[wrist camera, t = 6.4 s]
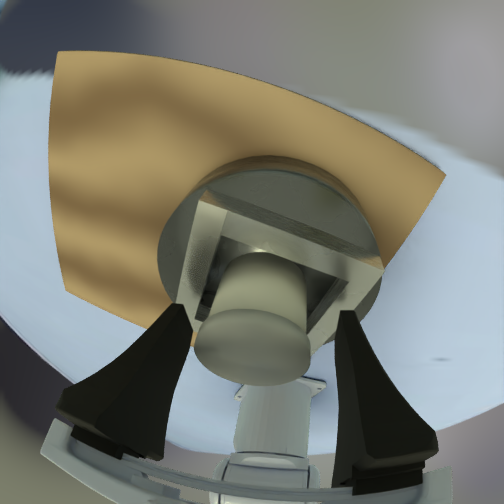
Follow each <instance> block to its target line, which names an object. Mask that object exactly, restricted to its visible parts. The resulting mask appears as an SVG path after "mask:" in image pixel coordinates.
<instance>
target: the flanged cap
mask: <svg viewBox="0 0 504 504" xmlns="http://www.w3.org/2000/svg"><path fill="white" fill-rule="evenodd" d="M306 318H307V283H306V279H305V276H304V274H303V272H302V271H301V270H300V268H299V267H298V266H297V265H296V264H295V263H293V262H292V261H291V260H288V259H286V258H283V257H280V256H277V255H275V254H272V253H269V252H252V253H247V254H244V255H241V256H239V257H237V258H235V259H234V260H232V261H231V262H230V263H229V264H228V265H227V267H226V268H225V270H224V272H223V275H222V278H221V281H220V284H219V287H218V290H217V293H216V295H215V298H214V301H213V304H212V307H211V310H210V313H209V316H208V318H207V319H206V320H205V321H204V322H203V323H202V324H201V326H200V328H199V331H198V334H197V337H196V339H195V343H194V351H195V354H196V356H197V358H198V360H199V361H200V362H201V363H202V364H203V365H204V366H205V367H206V368H207V369H208V370H210V371H211V372H213V373H214V374H216V375H218V376H220V377H222V378H224V379H227V380H230V381H233V382H236V383H240V384H245V385H251V386H276V385H282V384H286V383H289V382H292V381H294V380H296V379H298V378H300V377H301V376H302V375H304V374H305V373H306V371H307V370H308V368H309V366H310V360H311V344H310V340H309V338H308V336H307V334H306Z"/></svg>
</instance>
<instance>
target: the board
mask: <svg viewBox="0 0 504 504" xmlns="http://www.w3.org/2000/svg"><path fill="white" fill-rule="evenodd" d="M263 155H274V156H286V157H291V158H296V159H300V160H303V161H306V162H309V163H312V164H314V165H316V166H318V167H320V168H322V169H324V170H326V171H328V172H329V173H331V174H332V175H334V176H335V177H336V178H338V179H339V180H340V181H341V182H342V183H344V184H345V185H346V186H347V187H348V188H349V189H350V190H351V192H352V193H353V194H354V195H355V197H356V198H357V199H358V201H359V203H360V204H361V206H362V208H363V210H364V212H365V214H366V217H367V219H368V221H369V224H370V226H371V229H372V232H373V234H374V237H375V239H376V242H377V245H378V248H379V251H380V255H381V261H382V264H383V267H384V268H385V267H386V266H387V264H388V263H389V262H390V260H391V259H392V258H393V256H394V255H395V254H396V252H397V251H398V249H399V248H400V247H401V245H402V244H403V242H404V241H405V240H406V238H407V237H408V235H409V234H410V232H411V231H412V229H413V228H414V226H415V225H416V223H417V222H418V220H419V219H420V217H421V216H422V214H423V213H424V211H425V209H426V208H427V206H428V205H429V203H430V201H431V200H432V198H433V197H434V195H435V193H436V192H437V190H438V188H439V187H440V185H441V183H442V181H443V180H444V178H445V176H446V174H445V173H444V172H442V171H441V170H440V169H439V168H437V167H436V166H434V165H433V164H432V163H430V162H429V161H427V160H426V159H424V158H423V157H421V156H419V155H418V154H416V153H415V152H413V151H412V150H410V149H408V148H407V147H405V146H404V145H402V144H400V143H399V142H397V141H395V140H393V139H392V138H390V137H388V136H386V135H385V134H383V133H381V132H379V131H377V130H376V129H374V128H372V127H370V126H368V125H366V124H364V123H362V122H360V121H358V120H356V119H354V118H352V117H350V116H348V115H346V114H344V113H342V112H340V111H338V110H336V109H333V108H331V107H329V106H327V105H324V104H322V103H320V102H317V101H315V100H313V99H310V98H308V97H305V96H303V95H300V94H298V93H295V92H292V91H290V90H287V89H284V88H282V87H279V86H276V85H273V84H270V83H267V82H264V81H261V80H258V79H255V78H251V77H248V76H245V75H241V74H238V73H234V72H230V71H227V70H223V69H219V68H215V67H211V66H206V65H202V64H197V63H193V62H187V61H182V60H177V59H171V58H165V57H159V56H151V55H144V54H135V53H124V52H110V51H60V52H58V55H57V60H56V66H55V72H54V79H53V86H52V95H51V105H50V117H49V142H48V162H49V186H50V200H51V210H52V219H53V227H54V234H55V241H56V247H57V253H58V258H59V263H60V268H61V273H62V277H63V282H64V286H65V290H66V291H68V292H69V293H71V294H73V295H75V296H77V297H79V298H81V299H83V300H85V301H87V302H89V303H91V304H93V305H95V306H97V307H99V308H101V309H103V310H105V311H107V312H109V313H112V314H114V315H116V316H118V317H120V318H123V319H125V320H127V321H129V322H132V323H134V324H136V325H139V326H141V327H143V328H146V329H148V328H149V327H150V326H151V325H152V324H153V323H154V322H155V321H156V319H157V318H158V317H159V316H160V315H161V314H162V313H163V312H164V311H165V310H166V309H167V308H168V307H169V306H170V305H171V303H173V302H172V301H171V299H170V298H169V296H168V294H167V292H166V291H165V288H164V286H163V284H162V281H161V278H160V275H159V271H158V264H157V249H158V243H159V239H160V235H161V233H162V230H163V228H164V226H165V224H166V222H167V221H168V219H169V218H170V216H171V215H172V213H173V212H174V211H175V209H176V208H177V207H178V206H179V204H180V203H181V202H182V201H183V199H184V198H185V197H186V196H187V195H188V193H189V192H190V191H191V190H192V188H193V187H194V186H195V185H196V184H197V183H198V182H199V181H200V180H201V179H202V178H204V177H205V176H206V175H208V174H209V173H210V172H211V171H213V170H215V169H217V168H219V167H220V166H222V165H224V164H227V163H230V162H232V161H235V160H238V159H242V158H247V157H251V156H263ZM197 334H198V333H197V332H194V331H193V336H192V340H191V345H190V346H192V347H194V343H195V339H196V337H197Z"/></svg>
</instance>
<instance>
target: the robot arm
mask: <svg viewBox="0 0 504 504" xmlns="http://www.w3.org/2000/svg"><path fill="white" fill-rule="evenodd" d="M192 336H193V328H192V326H191V323H190V321H189V318H188V315H187V313H186V310H185V307H184V305H183V304H178V303H171V305H170V306H169V307H168V308H167V309H166V310H165V311H164V312H163V313H162V314H161V315H160V316H159V317H158V318H157V319H156V321H155V322H154V323H153V324H152V325H151V326H150V327H149V328H148V329H147V330H146V331H145V332H144V333H143V334H142V335H141V336H140V337H139V338H138V339H137V340H136V341H135V342H134V343H133V344H132V345H131V346H130V347H129V348H128V349H127V350H126V351H124V352H123V353H122V354H121V355H120V356H118V357H117V358H116V359H115V360H113V361H112V362H111V363H109V364H108V365H106V366H105V367H104V368H102V369H101V370H99V371H98V372H96V373H95V374H93V375H91V376H90V377H88V378H86V379H84V380H82V381H80V382H78V383H76V384H74V385H72V386H70V387H68V388H65V389H64V390H63V392H62V394H61V396H60V398H59V400H58V402H57V404H56V406H55V409H56V411H57V412H59V413H60V414H61V415H62V416H64V417H65V418H66V419H68V420H69V421H70V422H72V423H73V424H75V425H74V428H71V427H70V426H68V425H66V424H64V423H63V422H61V421H59V420H58V419H56V418H55V419H54V420H53V423H52V425H51V427H50V429H49V432H48V434H47V436H46V439H45V441H44V444H43V446H42V448H41V451H40V453H41V454H42V455H43V456H45V457H46V458H48V459H49V460H50V461H52V462H53V463H54V464H56V465H57V466H59V467H60V468H62V469H63V470H64V471H66V472H67V473H69V474H70V475H71V476H73V477H74V478H76V479H78V480H79V481H80V482H82V483H83V484H85V485H86V486H88V487H89V488H91V489H93V490H94V491H96V492H98V493H99V494H101V495H103V496H104V497H106V498H108V499H110V500H112V501H113V502H115V503H117V504H202V503H198V502H193V501H189V500H186V499H181V498H179V495H180V489H177V488H173V487H170V486H167V485H164V484H161V483H158V482H155V481H152V480H150V479H149V478H148V476H147V474H148V475H151V476H154V477H157V478H160V479H163V480H166V481H169V482H173V483H176V484H180V485H184V486H187V487H191V488H196V489H200V490H204V491H209V499H210V504H317V503H318V502H322V503H320V504H452V469H451V466H448V467H445V468H441V469H438V470H434V471H430V472H427V473H424V474H423V473H422V469H423V468H425V460H427V459H429V458H430V457H432V456H434V455H435V454H437V452H438V451H439V449H438V441H437V437H436V433H435V431H434V430H433V429H432V428H431V427H430V426H429V425H428V424H427V423H426V422H425V421H424V420H423V419H422V418H421V417H420V416H419V415H418V414H417V413H416V411H415V410H414V409H413V408H412V407H411V406H410V405H409V403H408V402H407V401H406V400H405V398H404V397H403V396H402V395H401V394H400V392H399V391H398V389H397V388H396V387H395V385H394V384H393V382H392V381H391V380H390V378H389V377H388V375H387V373H386V372H385V370H384V369H383V367H382V365H381V364H380V362H379V360H378V359H377V357H376V355H375V353H374V351H373V349H372V347H371V345H370V343H369V342H368V340H367V338H366V335H365V333H364V331H363V329H362V327H361V324H360V322H359V320H358V317H357V315H356V312H355V311H354V310H340V314H339V319H338V324H337V329H336V334H335V367H336V377H337V388H338V401H339V414H338V433H337V445H336V456H335V464H334V471H333V478H332V487H331V488H320V472H319V470H318V469H317V468H316V467H315V465H309V466H308V464H309V459H308V458H307V451H308V438H309V424H310V407H311V398H312V397H314V396H315V395H316V394H318V393H319V392H320V391H322V390H323V389H324V388H326V383H325V382H321V381H316V380H311V379H307V378H303V377H300V378H298V379H296V380H294V381H292V382H289V383H286V384H282V385H276V386H251V385H245V384H244V385H243V386H242V387H241V389H240V390H239V391H238V392H237V393H236V395H235V396H234V399H235V400H237V401H241V404H240V409H239V414H238V419H237V424H236V429H235V434H234V441H233V443H234V448H235V450H236V452H235V453H231V456H230V458H225V459H224V460H223V461H221V462H219V463H218V464H217V466H216V468H215V470H214V473H213V476H212V479H210V478H205V477H201V476H196V475H192V474H188V473H184V472H180V471H176V470H173V469H169V468H166V467H162V466H159V465H156V464H153V463H150V462H147V461H144V460H141V459H139V457H141V458H144V459H145V458H149V459H152V460H155V461H160V460H162V459H163V457H164V445H165V437H166V430H167V423H168V418H169V412H170V407H171V403H172V399H173V394H174V391H175V388H176V385H177V382H178V379H179V376H180V374H181V371H182V368H183V366H184V363H185V360H186V357H187V355H188V352H189V349H190V345H191V340H192Z"/></svg>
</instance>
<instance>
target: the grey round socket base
mask: <svg viewBox="0 0 504 504" xmlns="http://www.w3.org/2000/svg"><path fill="white" fill-rule="evenodd" d="M252 252H269V253H272V254H275V255H277V256H280V257H283V258H286V259H288V260H291V261H292V262H293V263H295V264H296V265H297V266H298V267H299V268H300V270H301V271H302V272H303V274H304V276H305V279H306V283H307V318H306V334H307V336H308V338H309V340H310V344H311V356H312V355H313V354H314V353H315V352H316V351H317V350H318V349H319V348H320V347H321V346H322V345H324V344H326V343H329V342H331V341H333V340H335V334H336V329H337V324H338V319H339V314H340V310H354V311H355V312H356V315H357V317H358V320H359V322H360V321H361V320H362V319H363V318H364V317H365V316H366V314H367V313H368V312H369V311H370V309H371V307H372V306H373V304H374V302H375V300H376V298H377V295H378V293H379V290H380V285H381V280H382V274H383V273H384V272H385V270H384V267H383V264H382V261H381V255H380V251H379V248H378V245H377V242H376V239H375V237H374V234H373V232H372V229H371V226H370V224H369V221H368V219H367V217H366V214H365V212H364V210H363V208H362V206H361V204H360V203H359V201H358V199H357V198H356V197H355V195H354V194H353V193H352V192H351V190H350V189H349V188H348V187H347V186H346V185H345V184H344V183H342V182H341V181H340V180H339V179H338V178H336V177H335V176H334V175H332V174H331V173H329V172H328V171H326V170H324V169H322V168H320V167H318V166H316V165H314V164H312V163H309V162H306V161H303V160H300V159H296V158H291V157H286V156H274V155H263V156H251V157H247V158H242V159H238V160H235V161H232V162H230V163H227V164H224V165H222V166H220V167H219V168H217V169H215V170H213V171H211V172H210V173H209V174H208V175H206V176H205V177H204V178H202V179H201V180H200V181H199V182H198V183H197V184H196V185H195V186H194V187H193V188H192V190H191V191H190V192H189V193H188V195H187V196H186V197H185V198H184V199H183V201H182V202H181V203H180V204H179V206H178V207H177V208H176V209H175V211H174V212H173V213H172V215H171V216H170V218H169V219H168V221H167V222H166V224H165V226H164V228H163V230H162V233H161V235H160V239H159V243H158V249H157V264H158V271H159V275H160V278H161V281H162V284H163V286H164V288H165V291H166V292H167V294H168V296H169V298H170V299H171V301H172V302H173V303H178V304H183V305H184V307H185V310H186V313H187V315H188V318H189V321H190V323H191V326H192V328H193V331H194V332H197V333H198V331H199V328H200V326H201V324H202V323H203V322H204V321H205V320H206V319H207V318H208V316H209V313H210V310H211V307H212V304H213V301H214V298H215V295H216V293H217V290H218V287H219V284H220V281H221V278H222V275H223V272H224V270H225V268H226V267H227V265H228V264H229V263H230V262H231V261H232V260H234V259H235V258H237V257H239V256H241V255H244V254H247V253H252Z"/></svg>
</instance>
